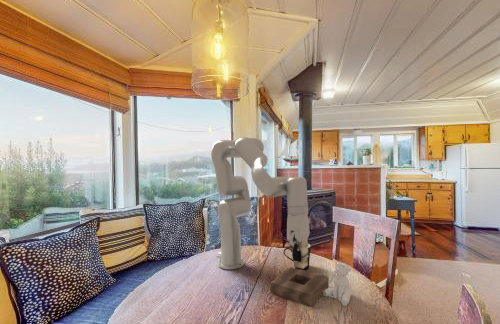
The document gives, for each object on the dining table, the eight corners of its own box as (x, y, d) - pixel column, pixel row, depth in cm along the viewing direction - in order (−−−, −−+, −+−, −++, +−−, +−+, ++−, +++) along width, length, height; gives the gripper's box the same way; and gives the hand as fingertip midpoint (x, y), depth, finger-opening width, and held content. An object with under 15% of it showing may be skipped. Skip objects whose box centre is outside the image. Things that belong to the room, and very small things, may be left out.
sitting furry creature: (321, 295, 88) (320, 262, 88) (335, 287, 93) (334, 256, 94) (345, 307, 81) (344, 270, 81) (359, 298, 86) (358, 263, 86)
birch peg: (292, 266, 92) (291, 235, 92) (298, 262, 95) (296, 232, 96) (303, 269, 89) (302, 237, 89) (309, 265, 93) (307, 234, 93)
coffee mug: (313, 265, 114) (313, 244, 114) (307, 272, 107) (306, 249, 107) (290, 261, 120) (289, 240, 121) (283, 267, 113) (282, 245, 113)
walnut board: (270, 293, 91) (270, 282, 91) (291, 276, 104) (290, 267, 104) (311, 307, 81) (311, 294, 81) (328, 287, 94) (328, 276, 94)
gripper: (298, 206, 102) (301, 250, 101) (277, 212, 88) (280, 264, 88) (316, 207, 97) (318, 253, 97) (296, 214, 84) (299, 268, 83)
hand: (300, 258), depth 92 cm, fingers closed on birch peg, 4 cm apart
